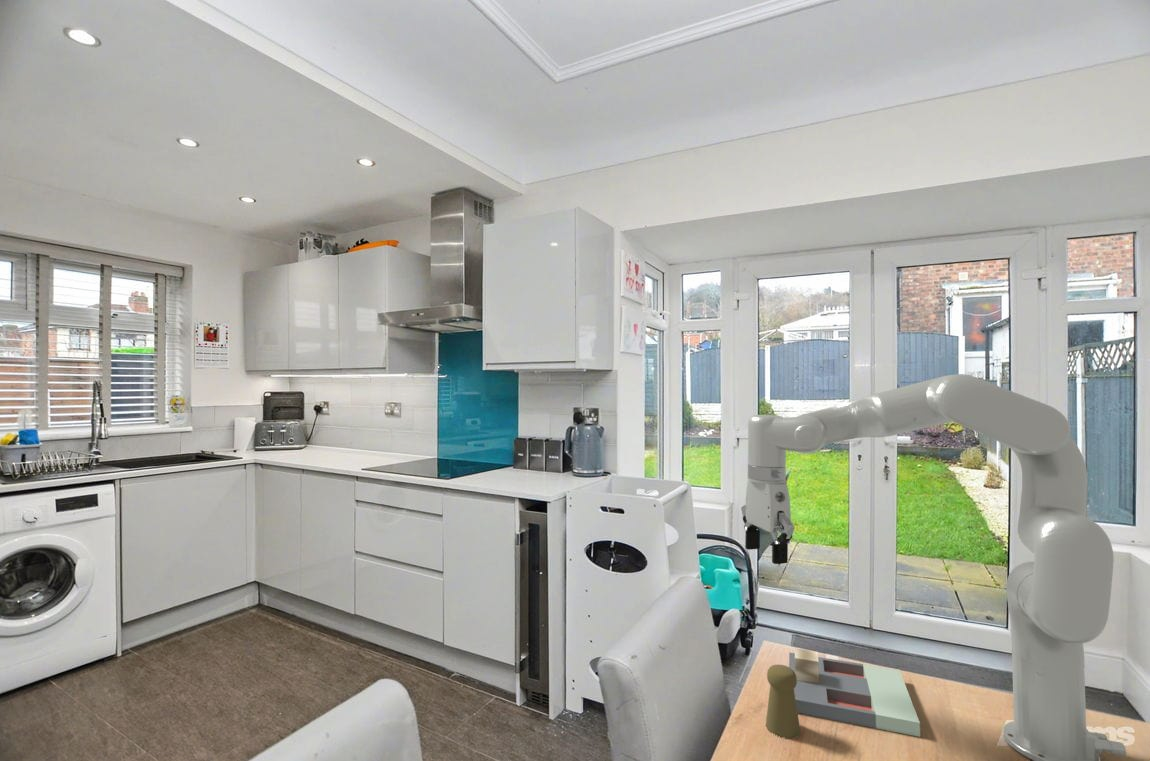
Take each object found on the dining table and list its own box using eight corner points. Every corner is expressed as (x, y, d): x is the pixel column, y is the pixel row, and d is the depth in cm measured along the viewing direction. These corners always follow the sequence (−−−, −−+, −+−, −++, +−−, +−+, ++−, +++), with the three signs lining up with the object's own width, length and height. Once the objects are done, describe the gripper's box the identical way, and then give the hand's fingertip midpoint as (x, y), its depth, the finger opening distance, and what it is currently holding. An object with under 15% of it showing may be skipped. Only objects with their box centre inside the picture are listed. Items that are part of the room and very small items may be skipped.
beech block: (818, 673, 115) (817, 651, 115) (819, 684, 111) (818, 661, 111) (795, 669, 117) (794, 648, 117) (795, 679, 112) (794, 658, 112)
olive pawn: (803, 740, 97) (802, 678, 97) (768, 736, 98) (767, 674, 98) (796, 720, 103) (795, 661, 103) (763, 716, 104) (762, 658, 104)
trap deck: (899, 681, 116) (899, 669, 116) (920, 736, 97) (919, 722, 97) (789, 663, 124) (789, 652, 124) (788, 711, 106) (788, 698, 106)
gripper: (809, 480, 106) (808, 568, 106) (758, 467, 123) (758, 543, 122) (775, 481, 104) (774, 570, 104) (729, 468, 121) (728, 545, 121)
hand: (765, 555), depth 113 cm, fingers open, 9 cm apart
